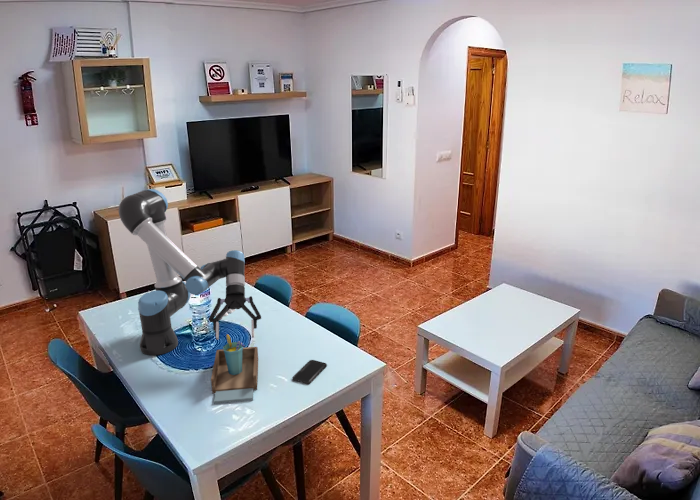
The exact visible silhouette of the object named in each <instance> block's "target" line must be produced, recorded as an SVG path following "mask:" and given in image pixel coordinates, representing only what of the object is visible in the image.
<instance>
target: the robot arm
mask: <svg viewBox="0 0 700 500" xmlns="http://www.w3.org/2000/svg"><path fill="white" fill-rule="evenodd" d="M168 207H169V202H168V199H167V197H166V196H165V195H164V193H162V192H161V191H159V190H158V189H154V188H149V189H144V190H140V191H138V192H136V193H133V194H131V195H127V196H125V197H124V198H123V199H122V200H121V202H120V203H119V206H118V216H119V219H120V221H121V223H122V224H123V227H125V228H126V230H128V232H129V233H130V234H131V235H133V236H137V237H139V238H140V239H141V241H143V242H144V244H146V246H147V249H148V253H149V256H150V260H151V264H152V267H153V271H154V275H155V278H156V282H155V283H154V290H152V291H150V292H146V293H144V294H143V295H141V297H140V298H138V302H137V303H138V307H137V310H138V313H139V320H140V326H141V331H142V332H141V338H140V342H139V349H140V352H141V353H142V354H144V355H146V356H159V355H165V354H168V353H169V352H171V351H173V350H175V349H176V348H177V347H178V345H179V340H178V336H177V335H176V333H175V331H174V329H173V328H172V321H171V317H172V316H173V315H175V313H177V312H178V311H180V310H181V309H183V308H184V307H185V306H186V304H187V303H189V301H190V299H191V295H193V296H197V295H201V294H203V293H204V292H205V291H207V290H208V289H209V288H210V287H211V286H213V285H214V284H215V283H216V282H218V281H219V280H220V279H221V280H222V279H224V278H225V298H221V297H217V301H216V304H215V306H214V307H213V310H212V311H211V312H210V313H211V314H210V315H209V317H208V322H209V323H213V327H212V329H213V331H214V332H215V339H216V341H217V340H218V341H219V339H220V338H219V336H220V323H219V321H221V320H222V319H223V317H224V316H223V315H224V314H225V313H226V312H227V311H228V310H229V309H232V310H234V309H235V310H240V309H242V310H243V311H244V312H245V313H246V314H247V315H248V316H249V317H250V318H251V322H250V323H251V338H255V329H257V328H258V326H257V325H258V324H257V323H258V321H259V320H261V319H262V316H261V314H260V311H259V309H258V308H257V306H256V304H255V302H254V300H253V299H254V298H253V296H252V295H251V296H249V297H245V296H246V290H245V289H246V288H245V284H246V282H245V281H246V279H245V278H246V276H245V266H246V265H245V264H246V262H245V254H244V253H243V252H242V251H240V250H235V249H234V250H230V251H228V252H227V253H226V255H225V258H223V259H220V260H216V261H212V262H208V263H205V264H202V265H201V266H200V267H199V266H198V265H197V264H196V263H195V262H194V261H193V260H192V259H191V258H190V257H189V256H188V255H187V254H186V253H184V252H183V250H182V249H180V247H179V246H177V245H176V244H175V243H174V242H173V241H172V240H171V238H170V237H168V236H167V232H166V228H165V223H166V221H167V217H166V212H167V210H168ZM178 275H179V276H178ZM246 302H247V303H248V304H250V306H251V308H252V310H253V311H254V313H253V312H252V311H251V310H250V309H249V308H248V307H247V306H246V305H245V303H246ZM224 303H225V305H224V307H223V308H222V309H221V311H220V312H219V310H220V308H221V306H222V305H223V304H224ZM217 313H219V314H218V315H217V316H216V314H217ZM227 313H228V312H227ZM221 318H222V319H221Z"/></svg>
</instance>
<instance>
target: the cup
mask: <svg viewBox="0 0 700 500" xmlns="http://www.w3.org/2000/svg"><path fill="white" fill-rule="evenodd" d="M226 341H227V343H226V344H225V345H224V346H222V349H223V350H224V353H225V357H226V363H227V368H228V372H229V374H231V375H237V374H240V373H241V372H242V350H243V348H246V345H245V344H244V343H243V342H242V341H240V340H239V341H233V342H232V340H231V336H230V334H226Z"/></svg>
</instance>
